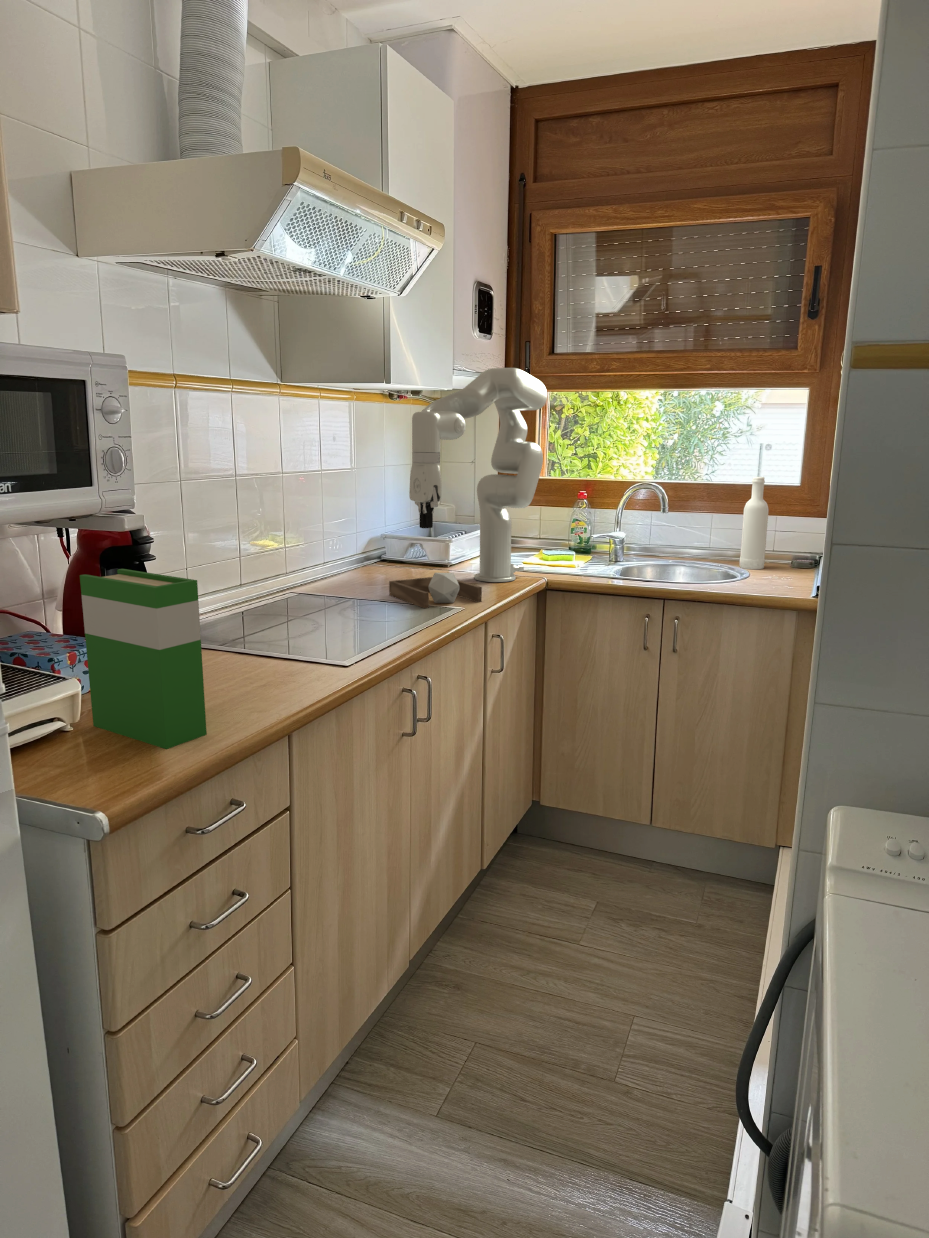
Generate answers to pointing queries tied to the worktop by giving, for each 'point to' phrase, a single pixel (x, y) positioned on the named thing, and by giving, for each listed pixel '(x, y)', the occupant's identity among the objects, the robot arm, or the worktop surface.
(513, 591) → the worktop surface
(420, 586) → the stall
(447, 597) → the die
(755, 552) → the bottle
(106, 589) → the hardback book
